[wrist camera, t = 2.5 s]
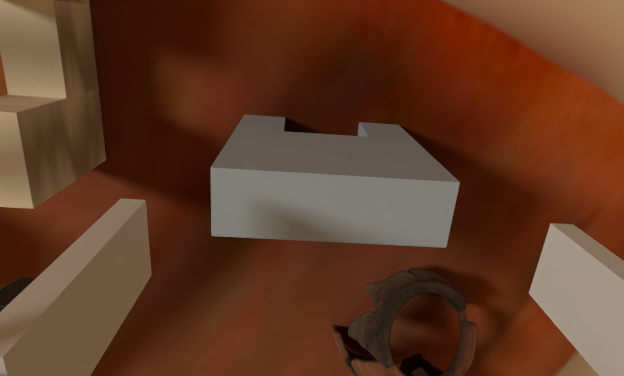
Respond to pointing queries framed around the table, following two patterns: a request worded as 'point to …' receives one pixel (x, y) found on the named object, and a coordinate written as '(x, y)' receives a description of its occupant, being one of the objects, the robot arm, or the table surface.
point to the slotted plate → (330, 186)
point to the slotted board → (47, 99)
